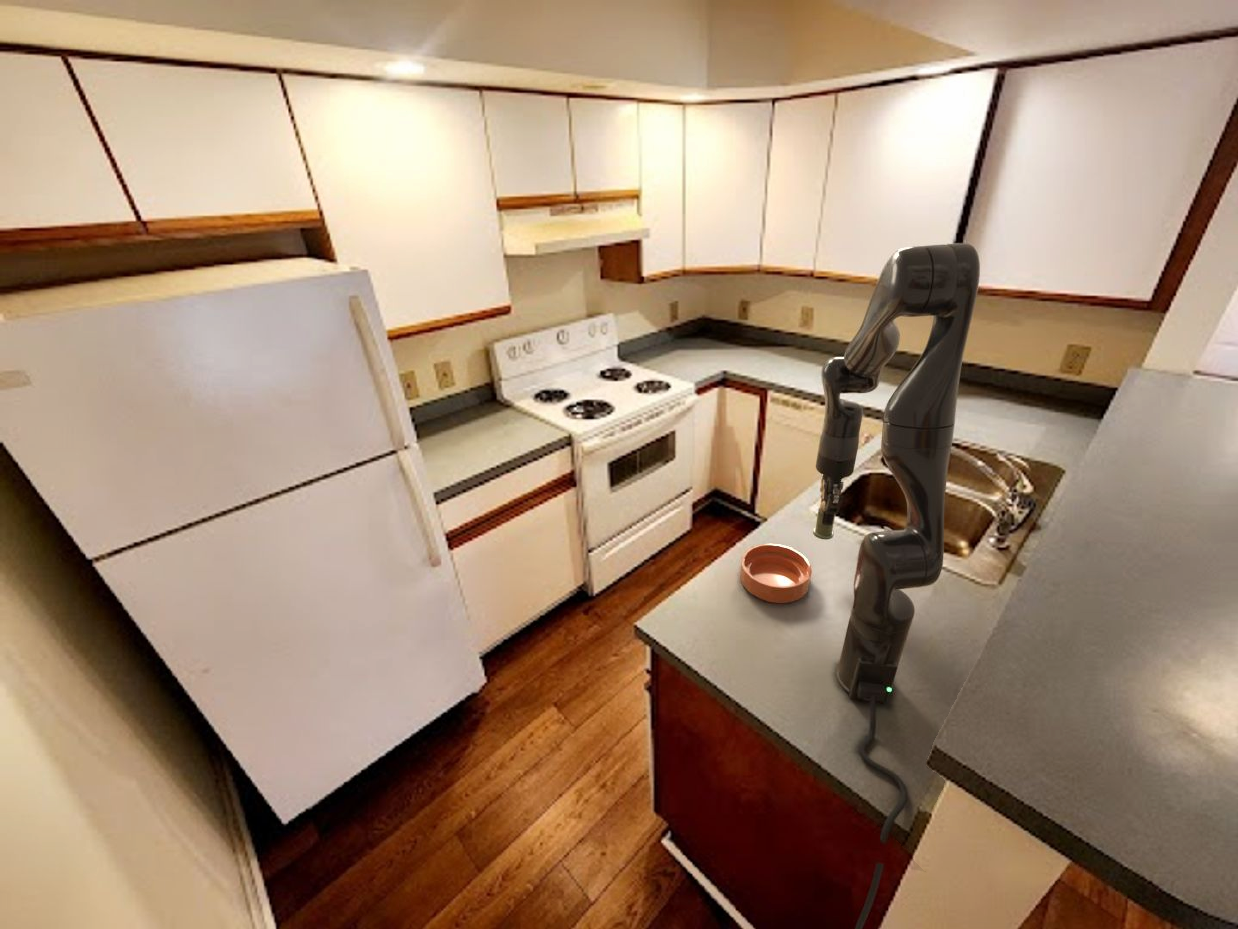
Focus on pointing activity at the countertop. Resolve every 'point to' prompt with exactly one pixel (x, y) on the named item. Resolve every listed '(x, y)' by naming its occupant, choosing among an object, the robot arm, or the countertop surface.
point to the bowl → (775, 573)
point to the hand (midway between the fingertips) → (825, 518)
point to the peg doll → (823, 526)
